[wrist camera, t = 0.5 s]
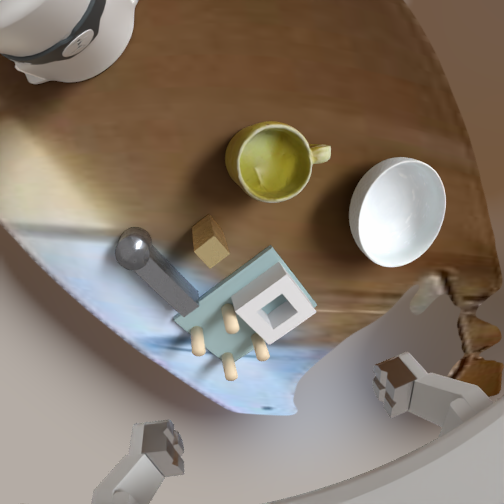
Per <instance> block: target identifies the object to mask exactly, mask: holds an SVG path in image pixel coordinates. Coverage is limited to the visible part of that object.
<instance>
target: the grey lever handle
mask: <svg viewBox="0 0 504 504" xmlns="http://www.w3.org/2000/svg"><path fill="white" fill-rule="evenodd" d="M115 256H116V259H117V261H118V263H119V264H120V265H121V266H122V267H124V268H126V269H128V270H134V271H135V272H136V273H137V274H138V275H139V276H140V277H141V278H142V279H143V280H144V281H145V282H146V283H147V284H148V285H149V286H150V287H151V288H152V289H153V290H154V291H156V292H157V293H158V294H159V295H160V296H161V297H162V298H163V299H164V300H165V301H166V302H167V303H168V304H170V305H171V306H172V307H173V308H174V309H175V310H176V311H177V312H178V313H179V314H181V315H182V316H183V317H185V316H187V315H188V314H190V313H191V312H192V311H194V310H195V309H196V308H198V307H199V306H200V305H199V296H198V291H197V290H196V289H195V288H194V287H193V286H192V285H191V284H190V283H189V282H188V281H187V280H186V279H185V278H184V277H183V276H182V275H181V274H180V273H179V272H178V271H177V270H176V269H175V268H174V267H173V266H172V265H171V264H170V263H169V262H168V261H167V260H166V259H165V258H164V257H163V256H162V255H161V254H160V253H159V252H158V251H157V249H156V248H155V247H154V246H153V245H152V240H151V237H150V235H149V233H148V232H147V231H146V230H144V229H142V228H139V227H131V228H129V229H127V230H125V231H124V232H123V234H122V236H121V238H120V240H119V242H118V245H117V247H116V250H115Z"/></svg>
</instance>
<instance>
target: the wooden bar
mask: <svg viewBox="0 0 504 504" xmlns="http://www.w3.org/2000/svg"><path fill="white" fill-rule="evenodd" d="M192 235H193V247H194V252H195V253H196V254H197V255H198V256H199V258H200V259H201V260H202V261H203V262H204V263H205V264H206V265H207V266H208V267H209V268H210V269H211V268H212V267H213V266H215V265H216V264H217V263H219V262H220V261H221V260H222V259H224V258H225V257H226V256H228V255H229V254H230V252H229V249H228V246H227V243H226V240H225V237H224V234H223V231H222V229H221V228H220V226H219V225H218V224H217V223H216V222H215V220H214V219H213V218H212V217H211V216H210V215H209V214H208V215H207V216H205V217H204V218H203V219H202V220H200V221H199V222H198V223H197V224H195V225H194V226H193V227H192Z"/></svg>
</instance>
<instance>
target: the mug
mask: <svg viewBox="0 0 504 504" xmlns="http://www.w3.org/2000/svg"><path fill="white" fill-rule="evenodd" d="M330 155H331V146H329V145H319V144H308V142H307V140H306V139H305V137H304V136H303V135H302V134H301V133H300V132H299V131H298V130H296V129H295V128H293V127H291V126H289V125H287V124H284V123H281V122H274V121H267V122H262V123H258V124H255V125H251V126H249V127H246V128H244V129H242V130H240V131H239V132H238V133H237V134H235V136H234V137H233V138H232V139H231V141H230V142H229V144H228V146H227V149H226V153H225V164H226V168H227V171H228V173H229V175H230V177H231V178H232V180H233V181H234V182H235V183H236V184H237V185H239V186H240V187H241V188H242V190H243V191H244V192H245V193H246V194H247V195H249V196H250V197H252V198H253V199H255V200H258V201H262V202H267V203H278V202H282V201H285V200H288V199H291V198H292V197H294V196H296V195H297V194H298V193H300V192H301V191H302V189H303V188H304V187H305V186H306V184H307V183H308V181H309V178H310V175H311V170H312V164H317V163H323V162H327V161H328V160H329V159H330Z"/></svg>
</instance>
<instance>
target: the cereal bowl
mask: <svg viewBox="0 0 504 504" xmlns="http://www.w3.org/2000/svg"><path fill="white" fill-rule="evenodd" d="M445 207H446V196H445V190H444V186H443V183H442V181H441V179H440V177H439V175H438V174H437V173H436V171H435V170H434V169H433V168H432V167H430V166H429V165H427V164H425V163H423V162H421V161H419V160H415V159H411V158H406V157H404V158H403V157H396V158H391V159H387V160H384V161H382V162H380V163H378V164H377V165H375V166H373V167H372V168H371V169H370V170H369V171H368V172H366V174H364V176H363V177H362V179H361V180H360V182H359V183H358V185H357V187H356V188H355V191H354V193H353V195H352V199H351V203H350V207H349V223H350V229H351V233H352V235H353V238H354V240H355V242H356V243H357V245H358V247H359V248H360V250H361V251H362V252H363V253H364V254H365V255H366V256H367V257H368V258H369V259H370V260H372V262H374V263H376V264H378V265H381V266H384V267H398V266H403V265H405V264H408V263H410V262H412V261H414V260H415V259H417V258H418V257H419V256H421V255H422V254H423V253H424V252H425V251H426V250H427V249H428V248H429V247H430V245H431V244H432V243H433V241H434V240H435V238H436V236H437V234H438V232H439V230H440V228H441V225H442V222H443V219H444V214H445Z"/></svg>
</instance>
